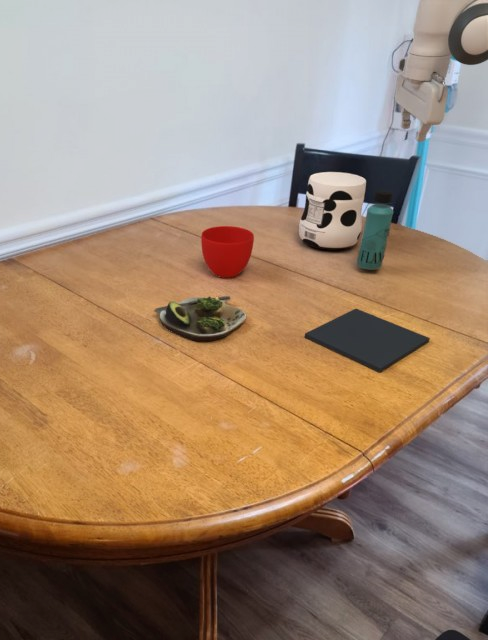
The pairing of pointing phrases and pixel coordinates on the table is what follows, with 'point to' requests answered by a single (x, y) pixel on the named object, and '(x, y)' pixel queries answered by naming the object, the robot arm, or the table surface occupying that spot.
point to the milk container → (332, 210)
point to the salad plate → (201, 318)
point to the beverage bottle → (375, 232)
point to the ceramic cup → (226, 249)
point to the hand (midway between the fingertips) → (412, 134)
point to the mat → (367, 339)
